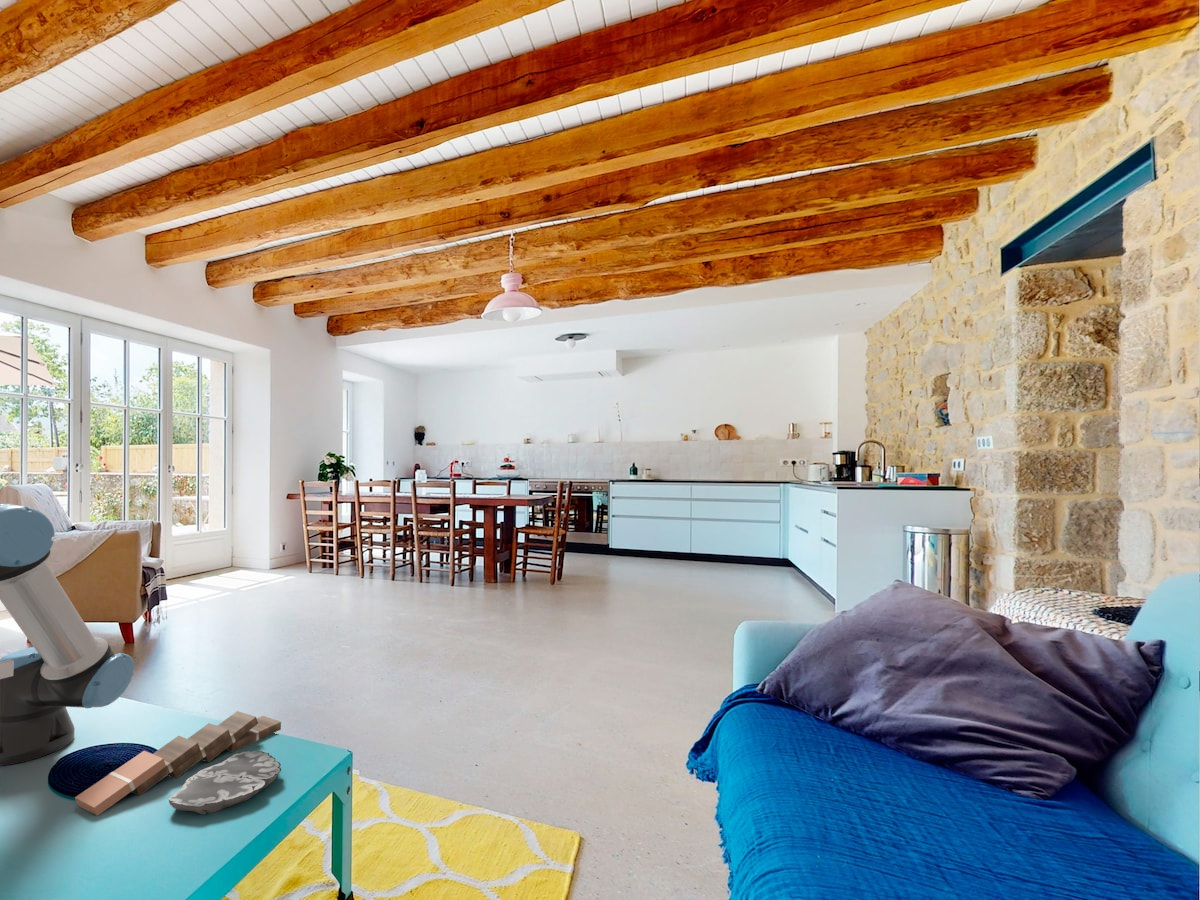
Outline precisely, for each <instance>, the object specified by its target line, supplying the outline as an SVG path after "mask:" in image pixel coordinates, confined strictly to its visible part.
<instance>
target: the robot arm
mask: <svg viewBox="0 0 1200 900" xmlns="http://www.w3.org/2000/svg"><path fill="white" fill-rule="evenodd" d="M53 537H55V529H54V526H53V523H52V522H51V520H50V519H49V518H48V516H47V515H45V514H44V513H43V512H41V511H39V510H37V509H35V508H33V507H29V506H24V505H17V504H12V503H0V602H1V604H3V606H4V608H5V609H6V610H7V611H8V613H9V615H10V616H11V617H12V618H13V620H14V621H15V623H16V625H17V626H18V627H19V628H20V629H21V631H22V632H23V635H25V637H26V638H27V640H28V641H29V643H30V644H31V645H32V647H31V646H30V647H27V648H23V649H20V650H17V651H14V652H13V651H12V652H11V653H8V654H6V655H4V656H2V657H0V766H7V765H15V764H20V763H23V762H27V761H28V762H29V761H31V760H35V759H38V758H41V757H45V756H47V755H49V754H53V753H55V752H56V751H59V750H61V749H62V748H65V747H66V746H68V745H70V743H71V742H72V741H73V740H74V739H75V725H74V723H73V721H72V718H71V716H70V714H69V712H68V709H67V708H85V709H91V708H102V707H106V706H108V705H111V704H112V703H114V702H115V701H117V700H118V699H119V698H120V697H121V696H122V695H123V694H124V693H125V691H126V690H127V688H128V687H129V686H130V684H131V681H132V678H133V676H134V673H135V660H134V659H133V658H132V656H130V655H129V654H128V653H127V654H126V653H124V652H119V653H116V652H114V650H113V649H112V647H111V645H110V644H109V642H108V641H107V640H106V639H105V638H103V637H99V636H94V635H93V634H92V633H91V631H90V629H89V628H88V626H87V625H86V623H85V622H84V620H83V618H82V616H81V615H80V613H79V612H78V610H77V609H76V607H75V606H74V603H72V601H71V599H70V597H69V596H68V594H67V592H65V590H64V588H63V587H62V585H61V584H60V582H59V580H58V579H57V577H56V575H55V574H54V573H53V571H52V569H51V568H50V566H49V564H48V563H47V561H48V560H49V559H50V557H51V553H52V551H51V549H52V546H53V545H54V543H55V542H54V540H52V538H53Z"/></svg>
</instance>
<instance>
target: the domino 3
mask: <svg viewBox="0 0 1200 900" xmlns="http://www.w3.org/2000/svg"><path fill="white" fill-rule="evenodd" d="M229 737H230V733H229V730H228V729H226V728H223V727H219V726H218V725H217V724H216V725H215V724H213V723H210V722H208V723H207V724H205V725H204V726H203V727H201V728H200V729H199V730H198V731H196V732H195V733H193V734H192V735H191V736H189V737H188V738H187V739H189V740H192V741H195V742H197V743H198V745H199V747H200V751H198V752H197V753H196V754H194V755H193V756H192V757H190V758H189V759H188V760H186V761H185V762H184V763H182V764H181V765H180V766H178V767H177V768H176V769H175V770H173V771H172V772H171V773H169V774H168V775H167V776H168V777H171V778H173V779H178V778H179V777H180V776H181V775H183V774H184V773H185V772H187V771H188V770H189V769H191V768H192V767H194V765H196V764H197V763H198V762H200V761H202V760H201V759H202V758H204V757H205V756H206V755H207V754H209V753H210V752H211V751H212V750H214V749H215V748H216V747H218V746H219V745H220V744H221V743H223V742H224V741H225V740H227V739H228V738H229Z"/></svg>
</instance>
